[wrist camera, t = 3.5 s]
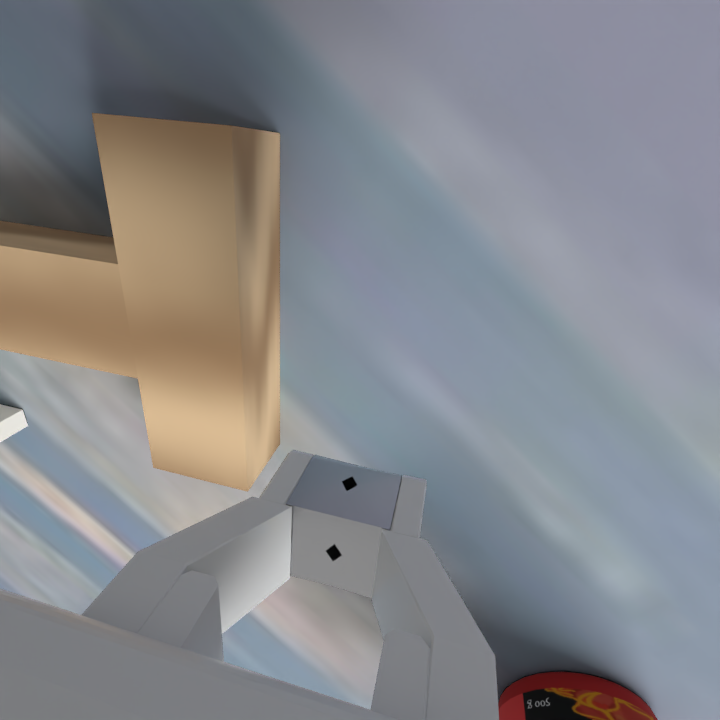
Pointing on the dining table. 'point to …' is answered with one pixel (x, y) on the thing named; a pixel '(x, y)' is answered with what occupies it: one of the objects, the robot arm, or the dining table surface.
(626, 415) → the dining table surface
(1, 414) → the t socket
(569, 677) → the canned food
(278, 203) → the t block
